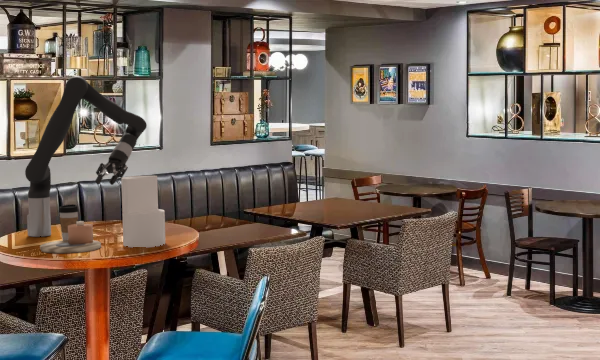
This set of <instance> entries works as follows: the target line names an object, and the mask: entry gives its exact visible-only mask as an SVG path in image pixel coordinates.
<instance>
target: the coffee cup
mask: <svg viewBox="0 0 600 360" xmlns="http://www.w3.org/2000/svg"><path fill="white" fill-rule="evenodd" d="M58 213H59V224H60V231H61V239H62V240H61V241H63V240H68V225H73V224H76V222H77V221H79V216H78V215H79V214H78V213H79V208H78V204H65V205H61V206H59V208H58Z"/></svg>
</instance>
